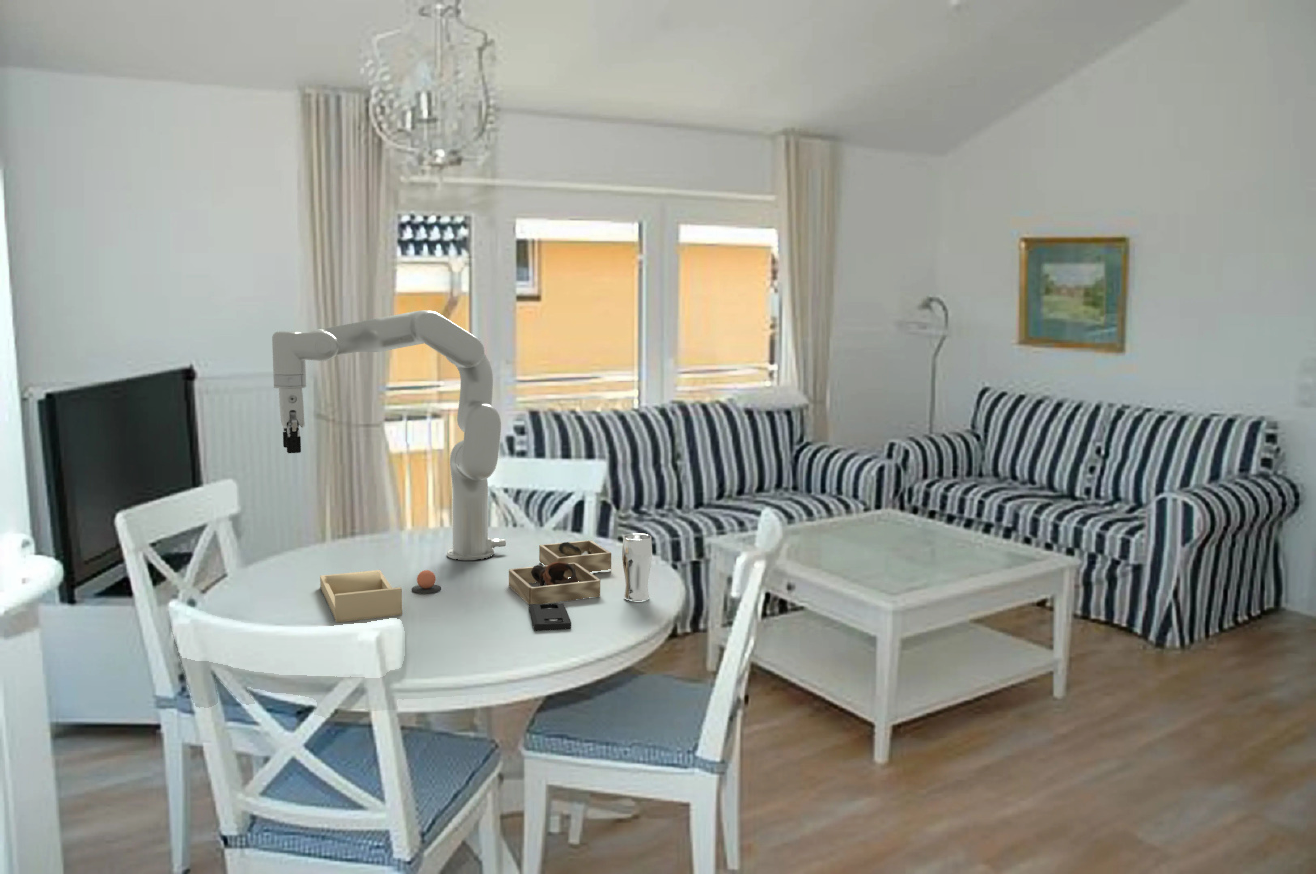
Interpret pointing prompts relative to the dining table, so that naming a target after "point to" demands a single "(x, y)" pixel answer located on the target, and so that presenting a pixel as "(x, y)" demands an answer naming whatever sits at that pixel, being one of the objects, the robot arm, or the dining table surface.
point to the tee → (431, 590)
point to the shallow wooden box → (554, 586)
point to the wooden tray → (590, 562)
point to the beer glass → (636, 565)
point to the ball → (426, 579)
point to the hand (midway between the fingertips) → (292, 449)
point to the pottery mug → (553, 574)
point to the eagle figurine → (571, 550)
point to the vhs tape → (549, 617)
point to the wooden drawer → (360, 596)
